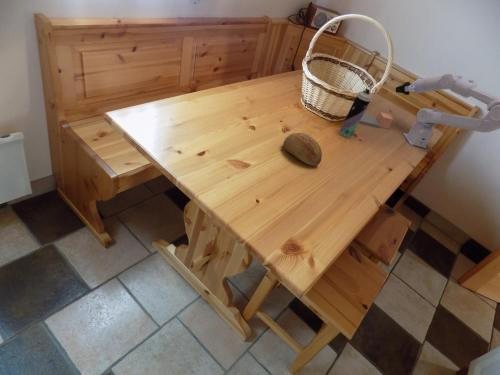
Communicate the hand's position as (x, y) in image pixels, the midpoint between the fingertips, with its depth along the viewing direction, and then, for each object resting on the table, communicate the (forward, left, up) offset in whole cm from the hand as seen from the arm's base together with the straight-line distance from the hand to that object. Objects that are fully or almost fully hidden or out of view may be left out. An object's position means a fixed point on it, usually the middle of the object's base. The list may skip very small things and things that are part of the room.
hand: (401, 88), depth 149 cm
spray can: (-28, +28, -16) cm, 43 cm away
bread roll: (-53, +51, -16) cm, 75 cm away
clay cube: (-10, +5, -15) cm, 19 cm away
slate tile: (-9, +13, -15) cm, 22 cm away
